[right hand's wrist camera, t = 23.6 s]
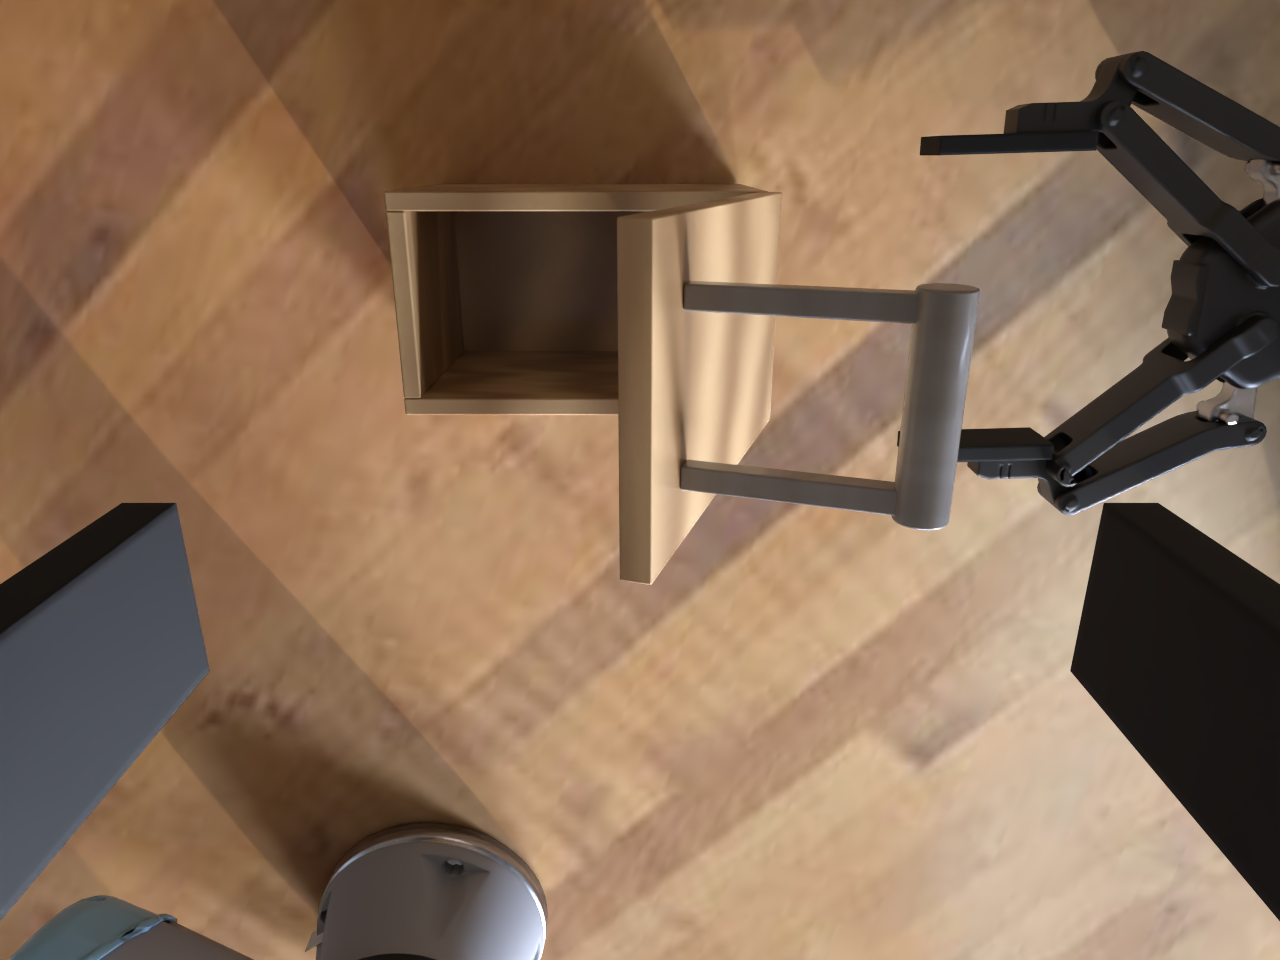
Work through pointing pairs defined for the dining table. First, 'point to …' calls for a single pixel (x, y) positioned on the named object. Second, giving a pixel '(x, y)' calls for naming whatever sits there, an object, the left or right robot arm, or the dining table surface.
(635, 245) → the lid
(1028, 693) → the dining table surface
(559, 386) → the chest
